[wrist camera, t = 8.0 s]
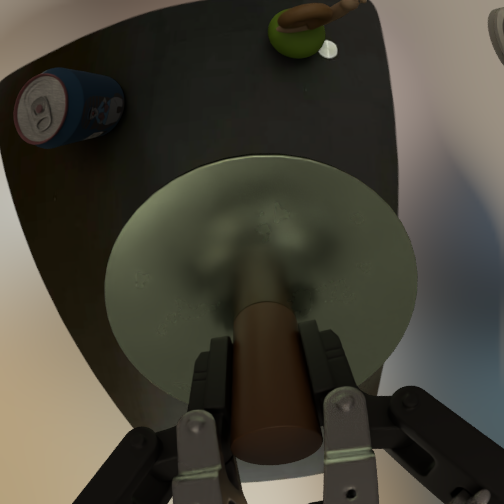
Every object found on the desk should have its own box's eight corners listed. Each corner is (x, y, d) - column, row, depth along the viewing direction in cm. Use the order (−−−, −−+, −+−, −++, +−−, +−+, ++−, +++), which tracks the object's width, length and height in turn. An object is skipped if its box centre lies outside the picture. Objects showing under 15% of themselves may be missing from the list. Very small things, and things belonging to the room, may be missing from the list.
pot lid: (404, 128, 10) (539, 163, 4) (395, 373, 17) (434, 463, 10) (67, 202, 11) (-42, 286, 5) (175, 412, 18) (161, 506, 11)
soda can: (69, 92, 26) (2, 92, 15) (120, 66, 26) (63, 49, 15) (84, 145, 29) (20, 165, 18) (135, 122, 29) (82, 130, 18)
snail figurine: (333, 53, 26) (380, 26, 15) (277, 68, 27) (298, 42, 16) (314, 11, 24) (350, -34, 13) (258, 25, 24) (266, -21, 14)
